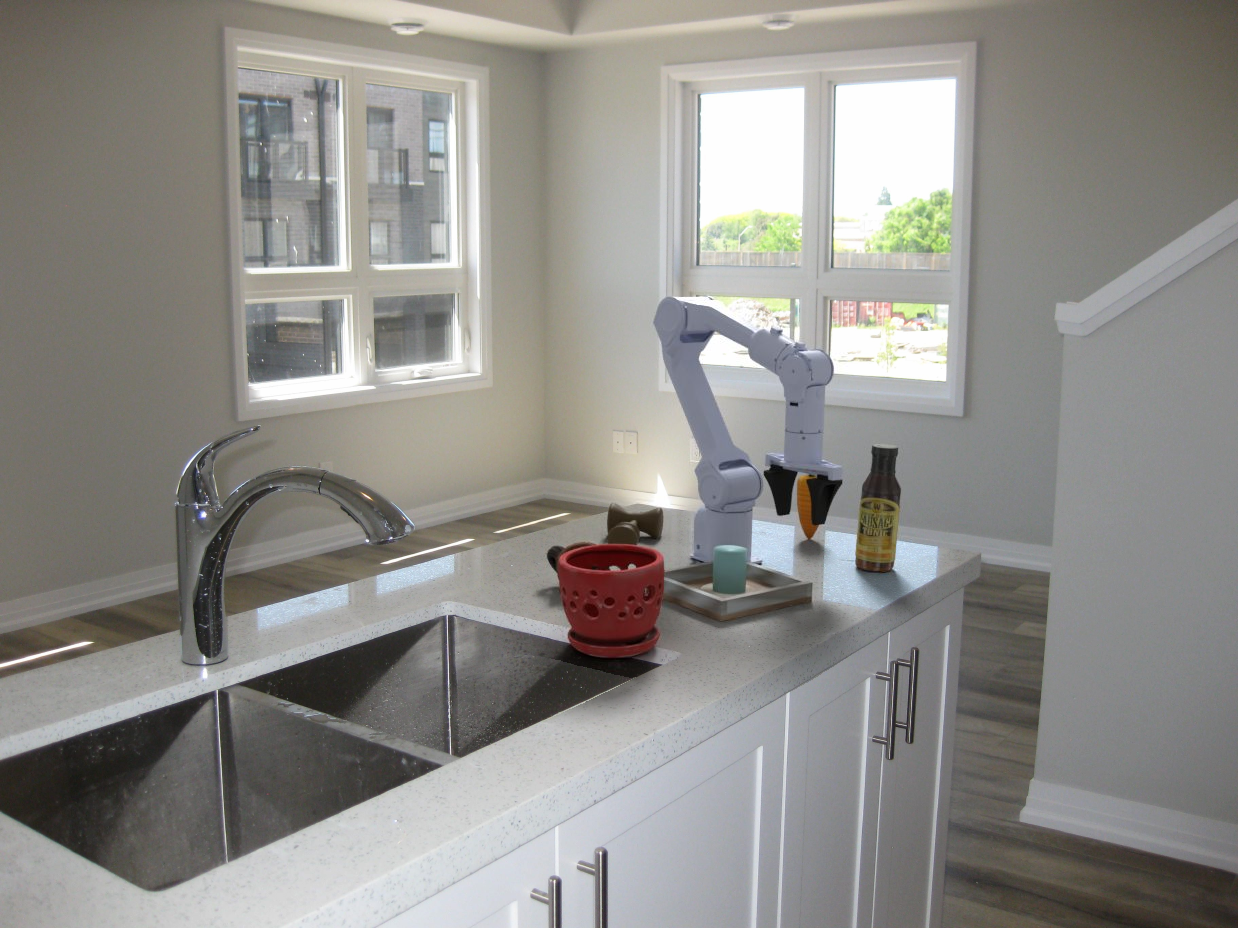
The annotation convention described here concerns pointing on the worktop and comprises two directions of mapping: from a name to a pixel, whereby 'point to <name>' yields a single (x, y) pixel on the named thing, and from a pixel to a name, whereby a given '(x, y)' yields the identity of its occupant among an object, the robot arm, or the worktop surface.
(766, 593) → the corral
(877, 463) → the sauce bottle
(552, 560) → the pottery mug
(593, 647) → the plant pot
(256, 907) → the worktop surface
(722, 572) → the teal cylinder
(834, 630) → the worktop surface
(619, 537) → the kendama
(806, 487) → the carrot
